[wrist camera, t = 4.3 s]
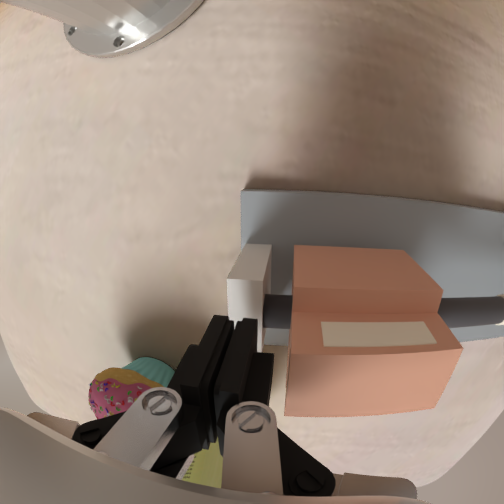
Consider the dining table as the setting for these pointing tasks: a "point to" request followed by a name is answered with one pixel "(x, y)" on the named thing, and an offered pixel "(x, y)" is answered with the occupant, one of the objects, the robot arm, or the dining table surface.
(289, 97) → the dining table surface
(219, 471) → the tube
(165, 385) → the cupcake
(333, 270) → the sleeve
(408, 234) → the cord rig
